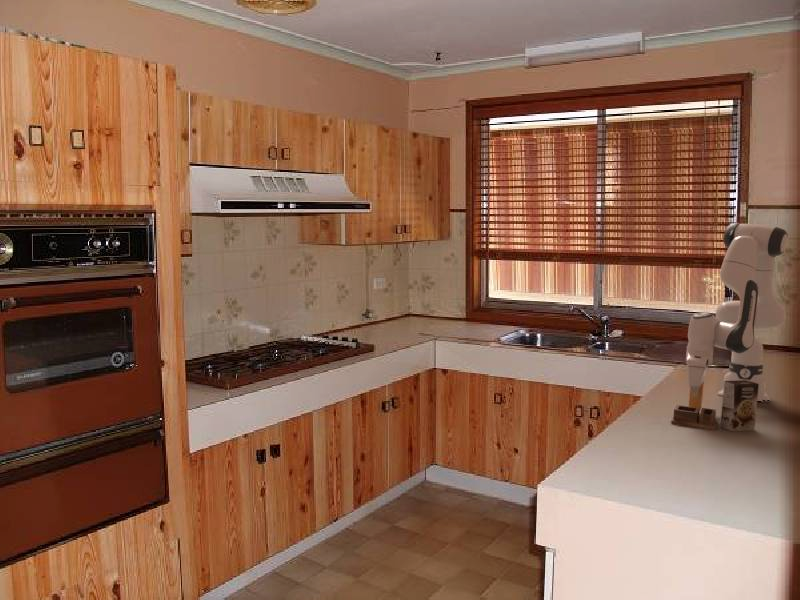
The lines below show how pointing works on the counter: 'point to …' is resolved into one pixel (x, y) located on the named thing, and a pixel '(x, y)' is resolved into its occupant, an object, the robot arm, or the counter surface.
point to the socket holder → (695, 417)
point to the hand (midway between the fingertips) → (696, 394)
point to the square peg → (696, 398)
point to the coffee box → (739, 405)
